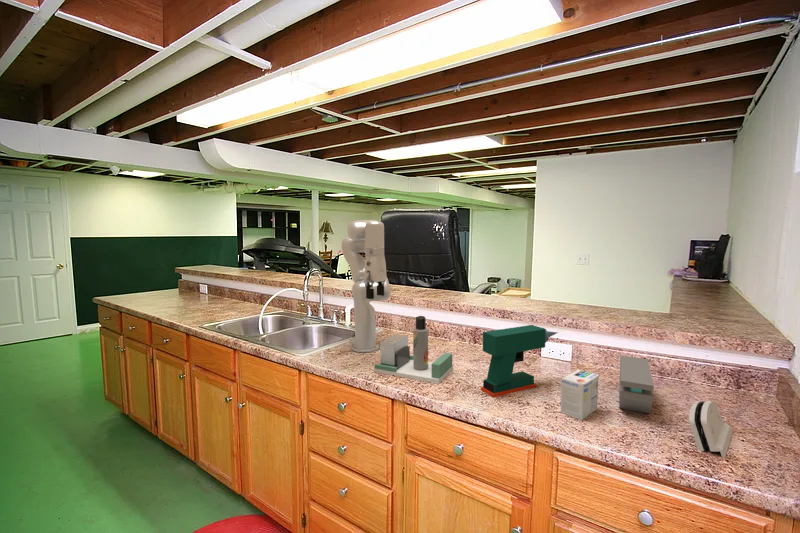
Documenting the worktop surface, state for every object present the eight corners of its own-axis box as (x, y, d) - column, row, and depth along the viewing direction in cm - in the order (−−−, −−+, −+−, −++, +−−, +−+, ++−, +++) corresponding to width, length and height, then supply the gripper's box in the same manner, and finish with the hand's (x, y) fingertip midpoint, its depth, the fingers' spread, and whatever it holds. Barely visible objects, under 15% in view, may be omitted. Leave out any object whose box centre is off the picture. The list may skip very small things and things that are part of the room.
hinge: (724, 458, 89) (708, 415, 91) (700, 457, 92) (685, 415, 94) (732, 432, 101) (718, 394, 102) (710, 431, 104) (697, 394, 105)
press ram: (380, 367, 147) (380, 341, 146) (395, 357, 158) (394, 334, 157) (396, 370, 144) (396, 344, 143) (410, 360, 154) (410, 336, 154)
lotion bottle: (430, 366, 147) (430, 315, 146) (425, 371, 142) (424, 318, 140) (416, 364, 150) (416, 314, 148) (411, 369, 145) (410, 317, 143)
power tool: (549, 373, 143) (550, 321, 141) (564, 380, 137) (565, 325, 135) (479, 389, 129) (480, 331, 127) (493, 397, 123) (494, 337, 121)
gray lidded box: (619, 386, 131) (620, 355, 130) (646, 390, 127) (647, 359, 126) (619, 417, 109) (620, 380, 108) (651, 423, 105) (653, 385, 104)
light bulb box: (575, 401, 119) (576, 368, 118) (598, 409, 114) (599, 374, 113) (559, 412, 112) (560, 377, 111) (582, 421, 107) (584, 384, 106)
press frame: (374, 372, 146) (374, 355, 145) (394, 359, 160) (393, 344, 160) (438, 383, 134) (438, 366, 134) (453, 369, 149) (453, 352, 148)
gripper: (371, 254, 141) (372, 301, 143) (393, 252, 157) (393, 294, 158) (354, 254, 145) (355, 299, 146) (377, 251, 160) (378, 293, 162)
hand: (375, 296), depth 152 cm, fingers open, 7 cm apart
